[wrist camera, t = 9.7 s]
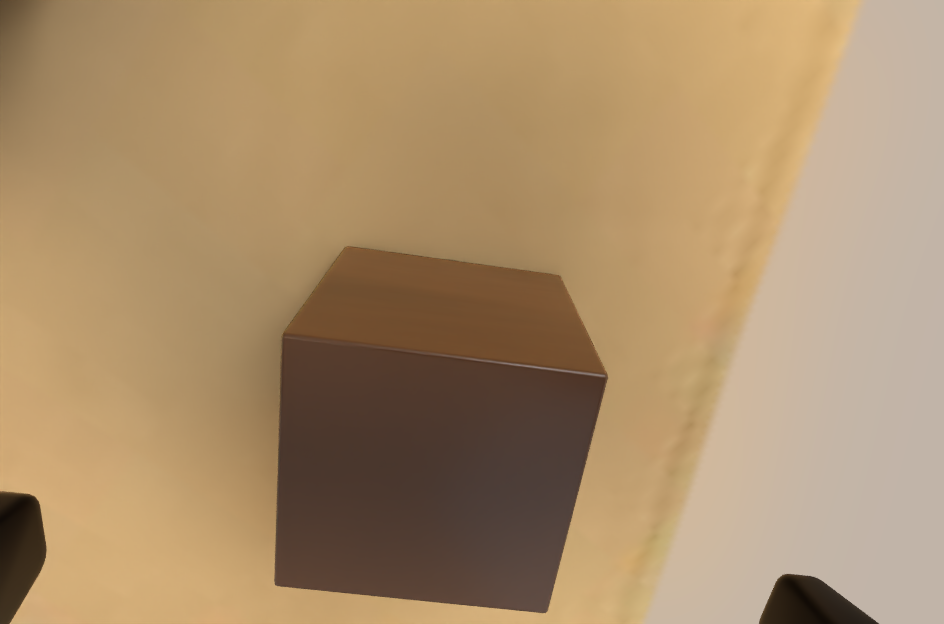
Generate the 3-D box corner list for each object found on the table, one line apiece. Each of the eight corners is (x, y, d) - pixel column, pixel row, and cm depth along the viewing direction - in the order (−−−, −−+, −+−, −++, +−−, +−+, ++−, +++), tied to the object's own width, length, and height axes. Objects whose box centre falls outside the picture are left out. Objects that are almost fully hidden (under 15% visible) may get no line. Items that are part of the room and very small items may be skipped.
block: (523, 454, 14) (547, 615, 10) (332, 432, 13) (273, 587, 9) (561, 274, 12) (610, 375, 8) (345, 244, 12) (279, 333, 8)
